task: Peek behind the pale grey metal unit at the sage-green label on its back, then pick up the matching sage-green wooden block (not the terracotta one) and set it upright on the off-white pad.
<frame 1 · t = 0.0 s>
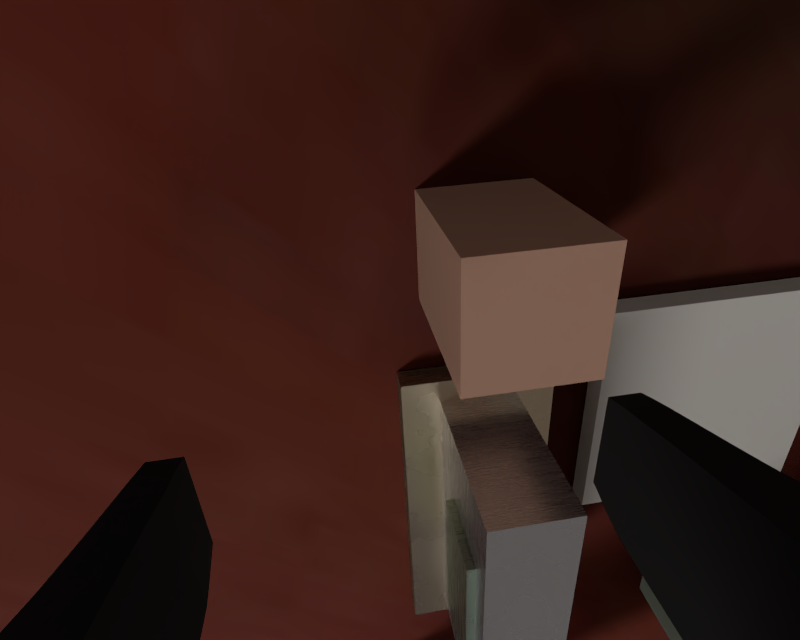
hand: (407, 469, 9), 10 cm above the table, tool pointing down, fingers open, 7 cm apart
pad: (692, 389, 23), on the table
terracotta block: (473, 240, 18), on the table
sage block: (678, 558, 29), on the table
grey unit: (470, 489, 24), on the table
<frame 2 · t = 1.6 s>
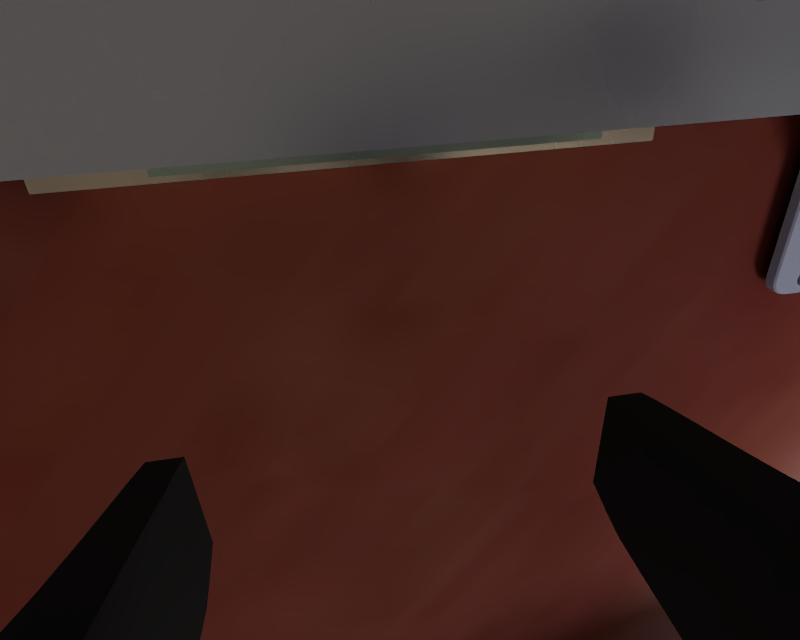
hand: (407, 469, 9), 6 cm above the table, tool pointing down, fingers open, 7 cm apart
grey unit: (344, 12, 11), on the table
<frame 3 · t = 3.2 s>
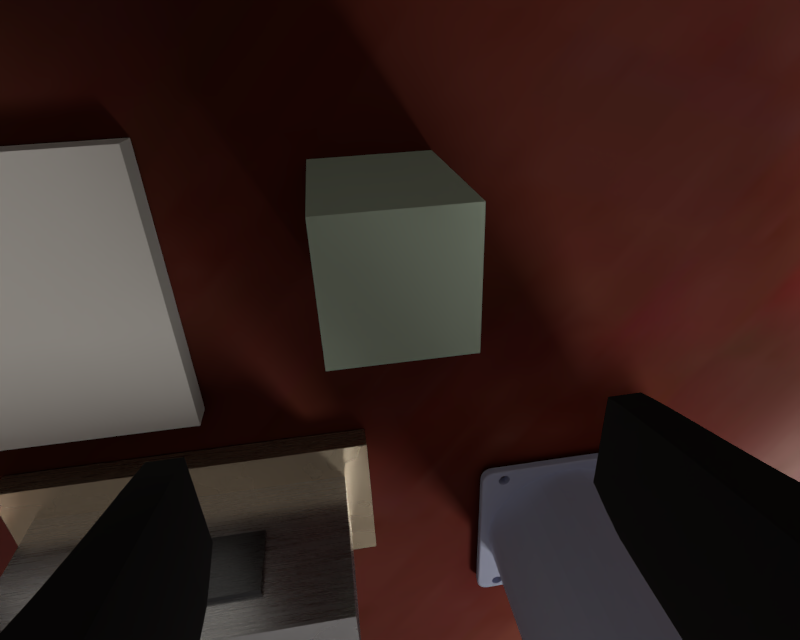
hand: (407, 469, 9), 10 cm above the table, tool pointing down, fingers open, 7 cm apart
pad: (14, 307, 17), on the table
sage block: (373, 215, 18), on the table
grey unit: (206, 504, 23), on the table
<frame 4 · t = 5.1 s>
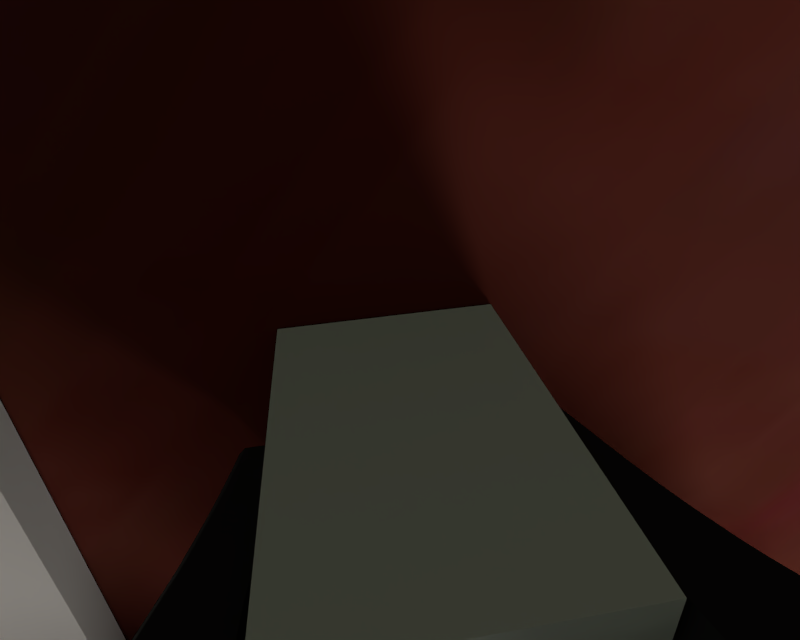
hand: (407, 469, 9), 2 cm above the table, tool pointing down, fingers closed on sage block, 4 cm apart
sage block: (392, 402, 11), on the table, touching gripper
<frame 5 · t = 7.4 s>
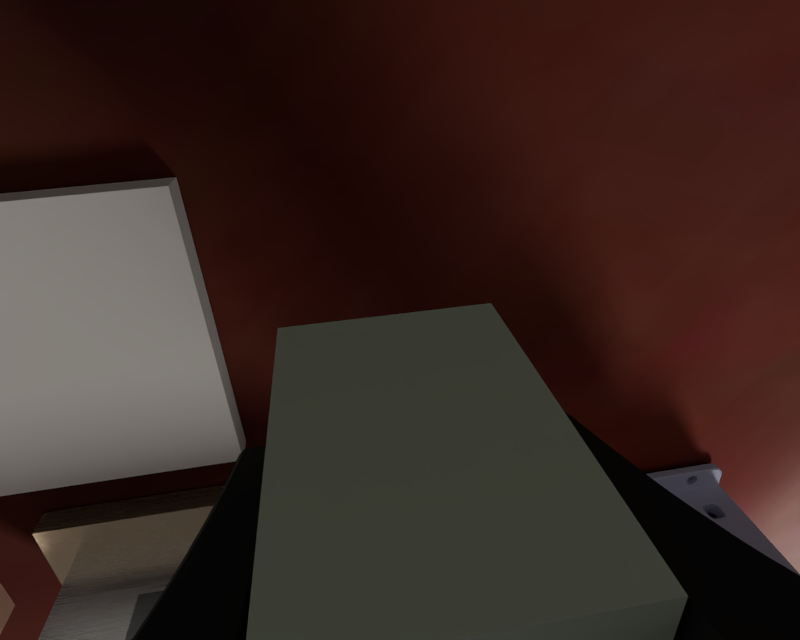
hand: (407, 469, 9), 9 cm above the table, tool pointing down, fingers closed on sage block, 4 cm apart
pad: (58, 346, 17), on the table
sage block: (392, 401, 11), point 8 cm above the table, touching gripper
grey unit: (245, 534, 22), on the table
when the fingers open (4 cm above the table, at t = 9.9 s): sage block stays where it is, resting on pad.
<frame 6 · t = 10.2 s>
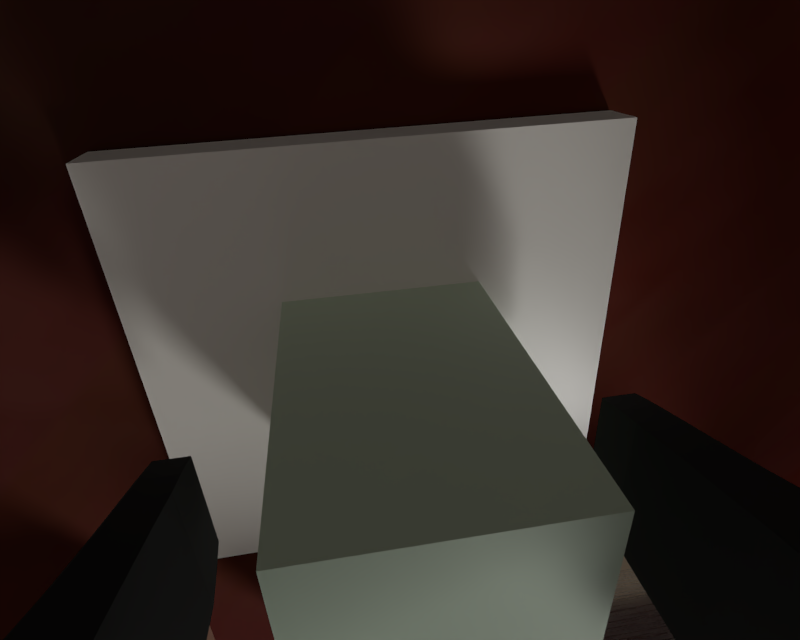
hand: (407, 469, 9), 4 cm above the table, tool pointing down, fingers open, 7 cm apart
pad: (380, 351, 13), on the table
sage block: (387, 373, 12), point 1 cm above the table, touching pad
grey unit: (519, 587, 18), on the table
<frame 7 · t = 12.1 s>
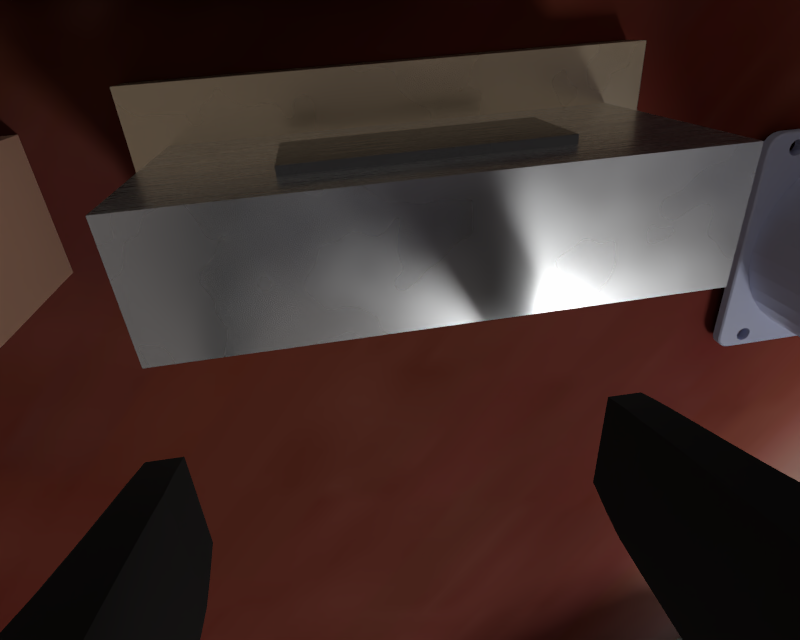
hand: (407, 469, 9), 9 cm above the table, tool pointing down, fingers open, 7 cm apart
grey unit: (394, 170, 16), on the table
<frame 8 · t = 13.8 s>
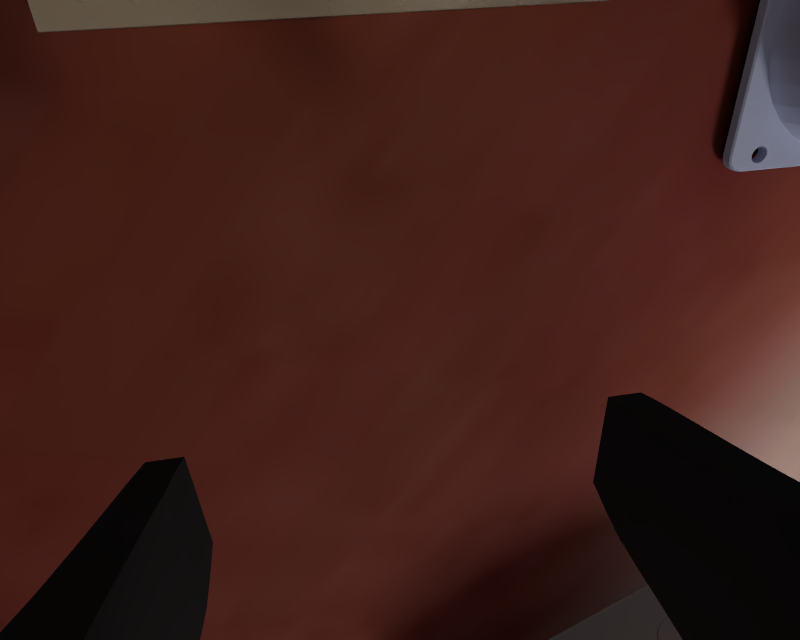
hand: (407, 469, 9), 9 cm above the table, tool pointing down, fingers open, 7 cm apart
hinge: (574, 630, 31), on the table
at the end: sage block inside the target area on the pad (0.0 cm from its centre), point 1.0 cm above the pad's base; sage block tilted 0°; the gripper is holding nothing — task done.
